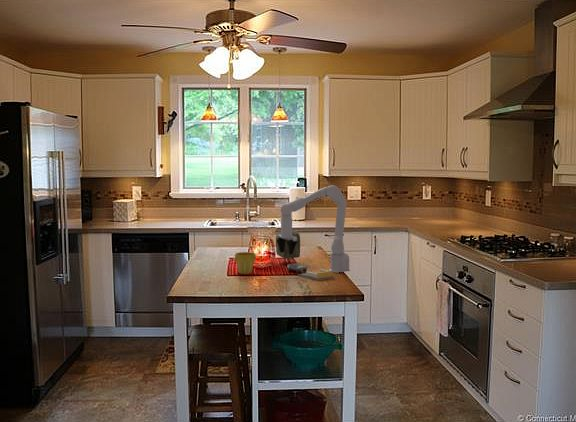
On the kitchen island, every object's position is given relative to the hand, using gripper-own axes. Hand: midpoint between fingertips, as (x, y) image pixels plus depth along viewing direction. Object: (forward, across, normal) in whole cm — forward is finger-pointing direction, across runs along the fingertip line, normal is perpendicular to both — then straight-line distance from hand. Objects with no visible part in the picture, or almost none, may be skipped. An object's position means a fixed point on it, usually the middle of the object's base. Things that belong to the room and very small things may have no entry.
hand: (286, 253), depth 278 cm
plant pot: (+9, -8, -20) cm, 24 cm away
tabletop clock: (+9, -14, +12) cm, 20 cm away
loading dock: (+9, +21, +2) cm, 23 cm away
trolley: (+9, +7, +2) cm, 11 cm away
